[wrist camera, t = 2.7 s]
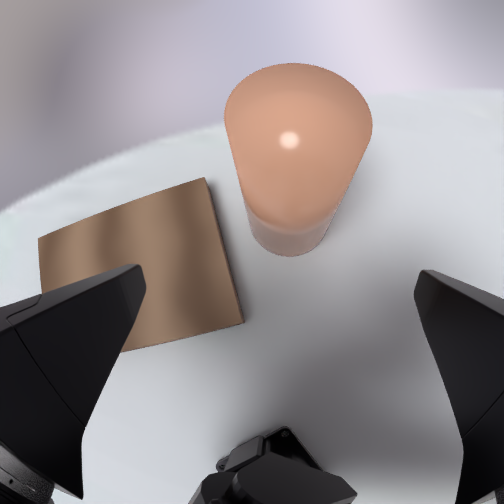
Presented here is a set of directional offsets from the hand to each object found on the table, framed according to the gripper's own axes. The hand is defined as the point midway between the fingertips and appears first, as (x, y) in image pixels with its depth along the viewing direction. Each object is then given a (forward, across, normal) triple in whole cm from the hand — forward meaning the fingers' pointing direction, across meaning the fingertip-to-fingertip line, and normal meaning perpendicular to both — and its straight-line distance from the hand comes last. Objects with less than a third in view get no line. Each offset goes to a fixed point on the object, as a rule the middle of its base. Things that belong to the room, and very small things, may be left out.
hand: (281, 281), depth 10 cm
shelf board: (+11, -12, -8) cm, 18 cm away
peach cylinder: (+14, +1, -5) cm, 15 cm away
